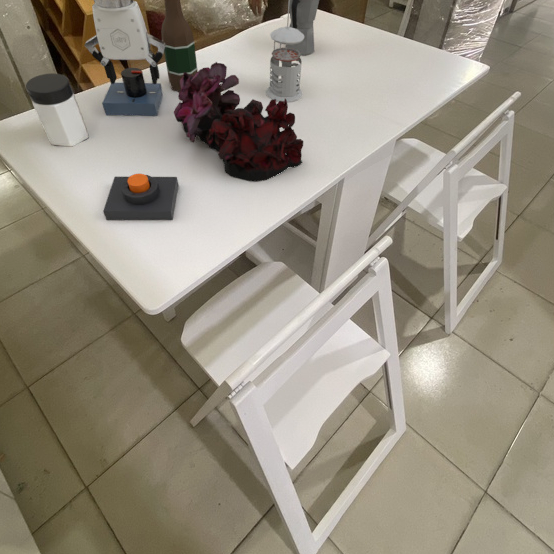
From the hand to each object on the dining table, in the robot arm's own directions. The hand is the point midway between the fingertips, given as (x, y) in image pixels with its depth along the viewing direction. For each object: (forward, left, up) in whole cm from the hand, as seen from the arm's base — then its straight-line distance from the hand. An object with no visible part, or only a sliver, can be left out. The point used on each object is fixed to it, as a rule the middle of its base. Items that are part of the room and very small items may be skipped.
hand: (134, 81), depth 94 cm
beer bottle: (+10, +10, -6) cm, 15 cm away
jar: (-13, -14, -6) cm, 20 cm away
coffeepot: (+42, +33, -6) cm, 54 cm away
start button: (+7, -36, -2) cm, 37 cm away
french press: (+36, +8, -6) cm, 37 cm away
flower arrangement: (+23, -17, -6) cm, 29 cm away
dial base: (-1, 0, -6) cm, 6 cm away
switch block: (+7, -36, -6) cm, 37 cm away
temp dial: (0, 0, -3) cm, 3 cm away
